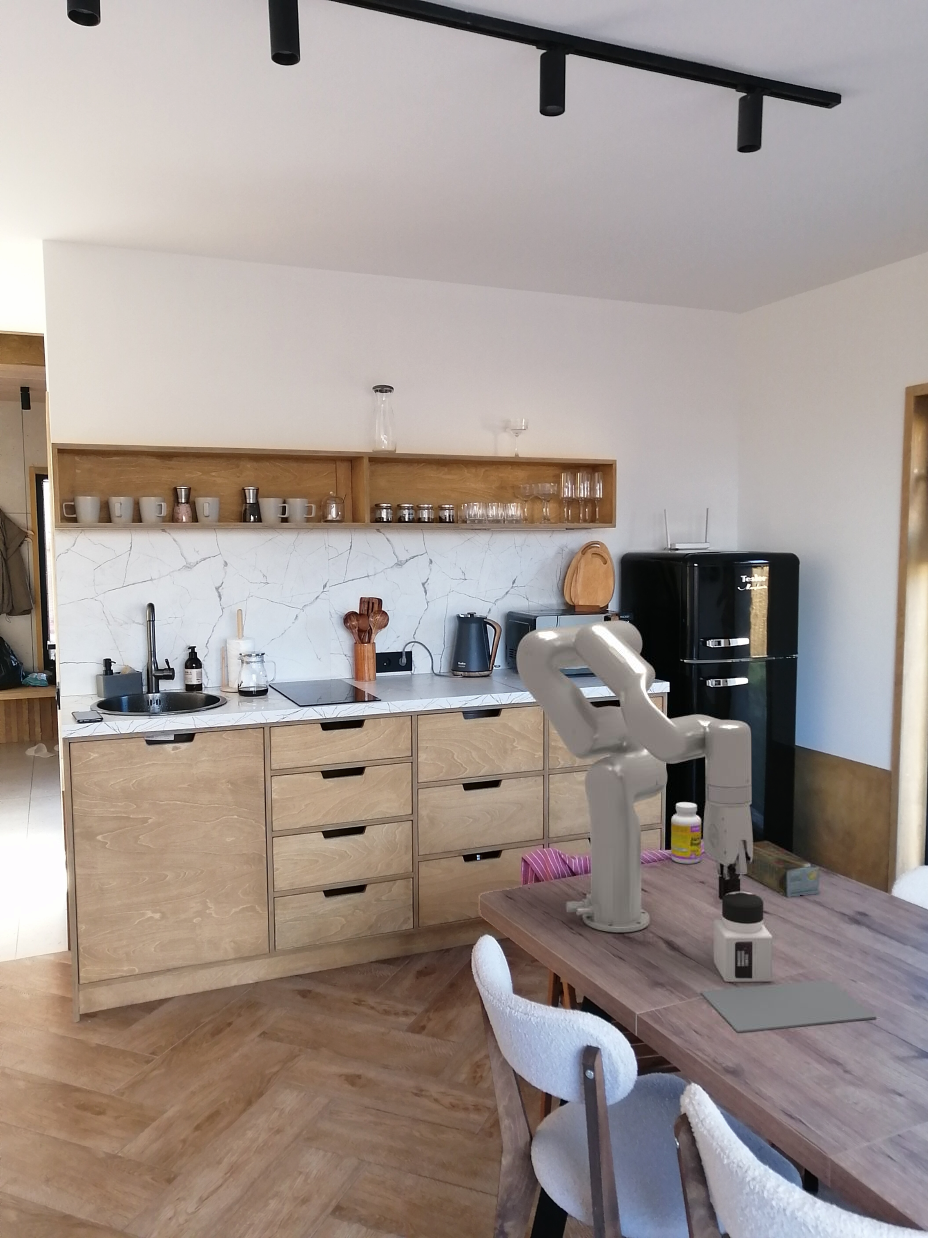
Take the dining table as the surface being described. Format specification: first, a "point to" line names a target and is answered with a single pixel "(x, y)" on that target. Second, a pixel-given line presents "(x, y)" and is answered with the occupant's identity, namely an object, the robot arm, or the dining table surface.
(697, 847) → the supplement bottle
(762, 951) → the container
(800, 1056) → the dining table surface
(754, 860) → the beverage carton
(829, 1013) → the rubber mat
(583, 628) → the robot arm
